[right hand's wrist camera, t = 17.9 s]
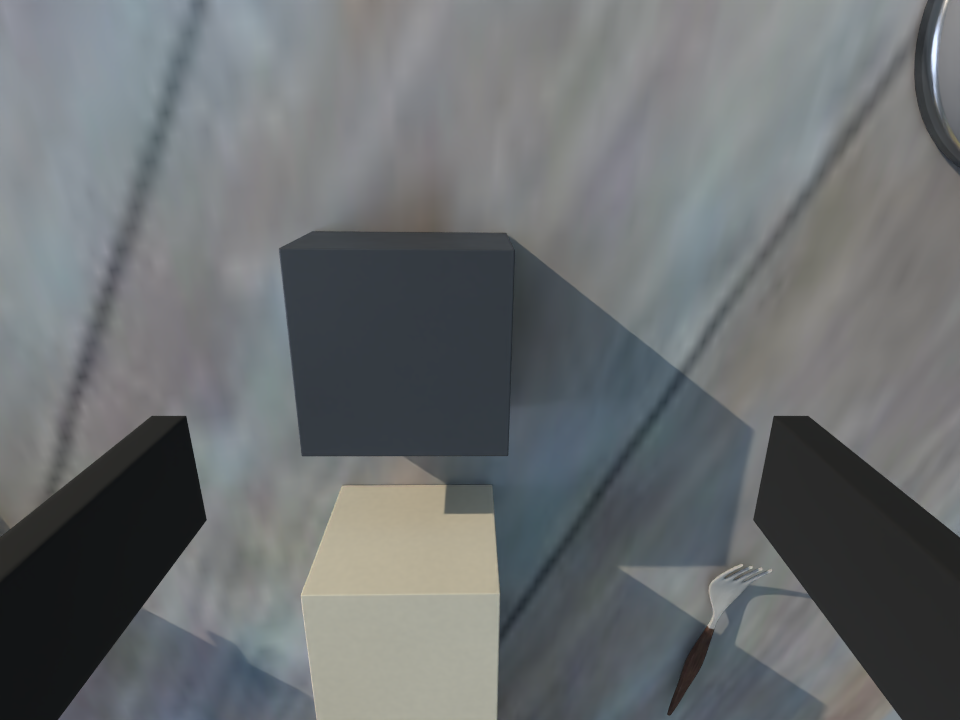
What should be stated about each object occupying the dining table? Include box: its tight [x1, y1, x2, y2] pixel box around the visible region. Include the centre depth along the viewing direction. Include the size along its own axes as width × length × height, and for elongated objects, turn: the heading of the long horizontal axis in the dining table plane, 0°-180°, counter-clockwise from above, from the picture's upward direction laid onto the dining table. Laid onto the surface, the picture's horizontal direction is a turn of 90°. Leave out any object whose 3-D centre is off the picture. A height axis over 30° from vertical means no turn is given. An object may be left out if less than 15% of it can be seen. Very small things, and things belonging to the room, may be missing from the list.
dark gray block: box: [279, 231, 515, 456], centre depth 31 cm, size 11×11×6 cm
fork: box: [667, 564, 772, 716], centre depth 42 cm, size 3×16×2 cm, turn 166°
